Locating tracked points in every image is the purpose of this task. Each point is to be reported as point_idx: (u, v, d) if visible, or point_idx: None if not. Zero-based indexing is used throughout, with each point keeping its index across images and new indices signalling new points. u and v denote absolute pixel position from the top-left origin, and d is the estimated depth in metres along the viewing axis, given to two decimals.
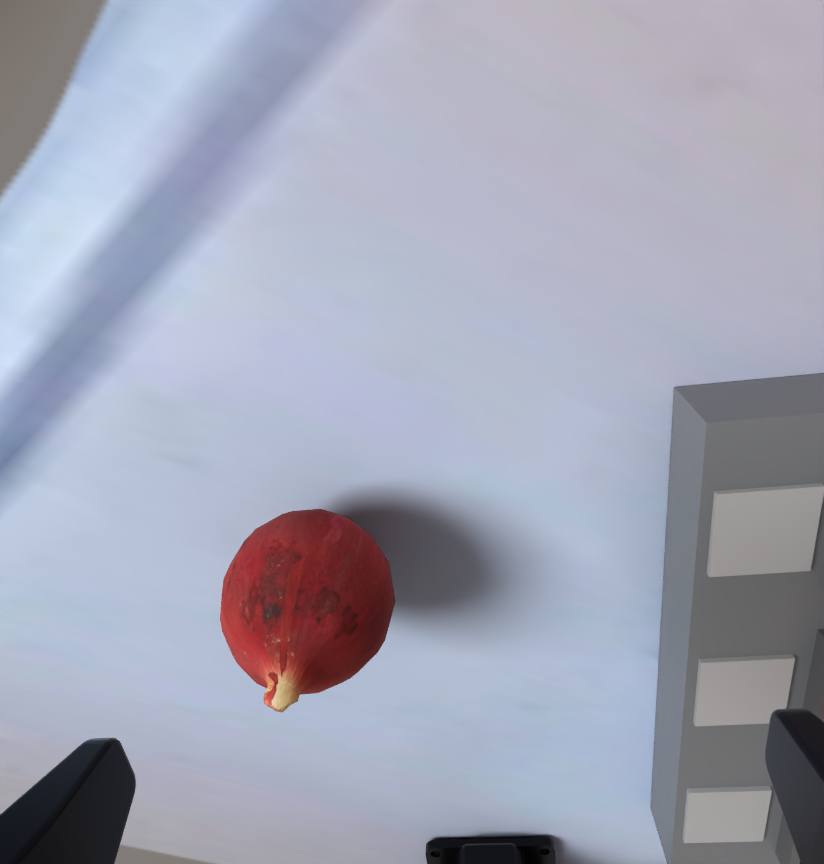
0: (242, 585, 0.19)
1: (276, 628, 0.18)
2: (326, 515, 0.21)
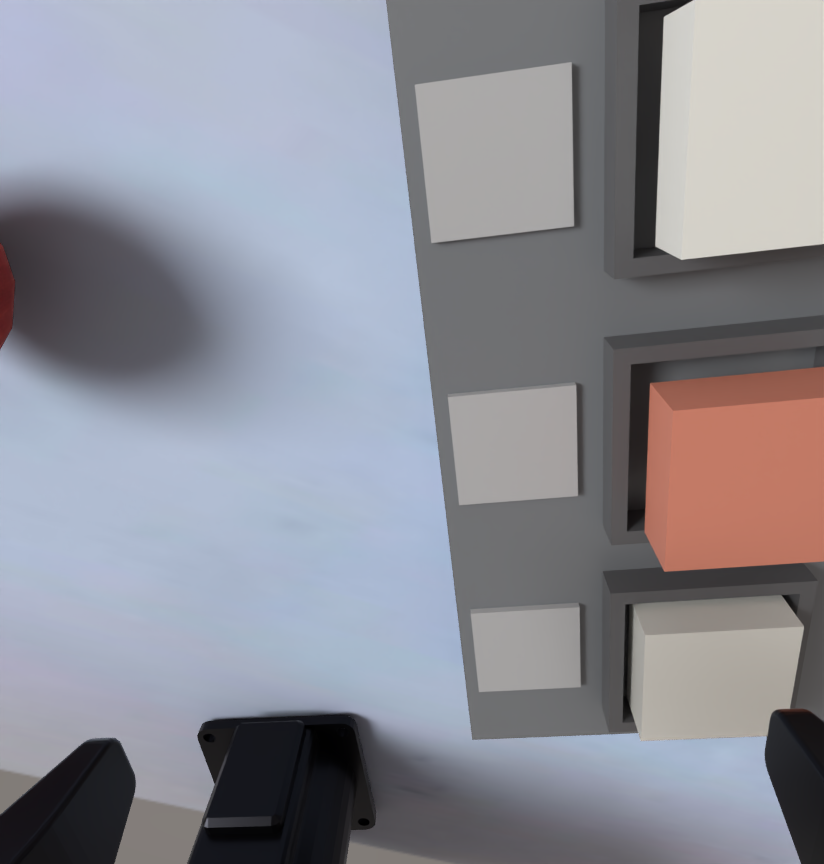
0: None
1: None
2: None
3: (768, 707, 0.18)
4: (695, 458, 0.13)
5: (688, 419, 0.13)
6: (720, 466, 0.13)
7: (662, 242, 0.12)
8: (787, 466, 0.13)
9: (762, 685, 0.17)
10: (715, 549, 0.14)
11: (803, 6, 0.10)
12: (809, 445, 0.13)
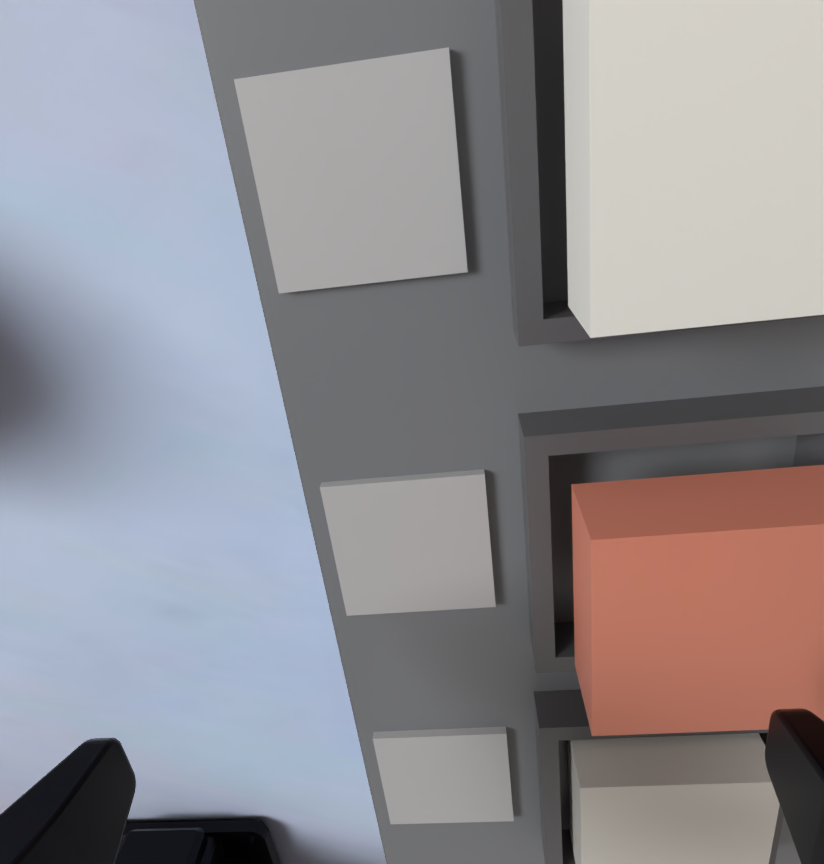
0: None
1: None
2: None
3: None
4: (624, 600, 0.09)
5: (613, 551, 0.09)
6: (660, 611, 0.09)
7: (573, 304, 0.09)
8: (753, 612, 0.09)
9: (731, 845, 0.14)
10: (659, 711, 0.10)
11: None
12: (783, 586, 0.09)
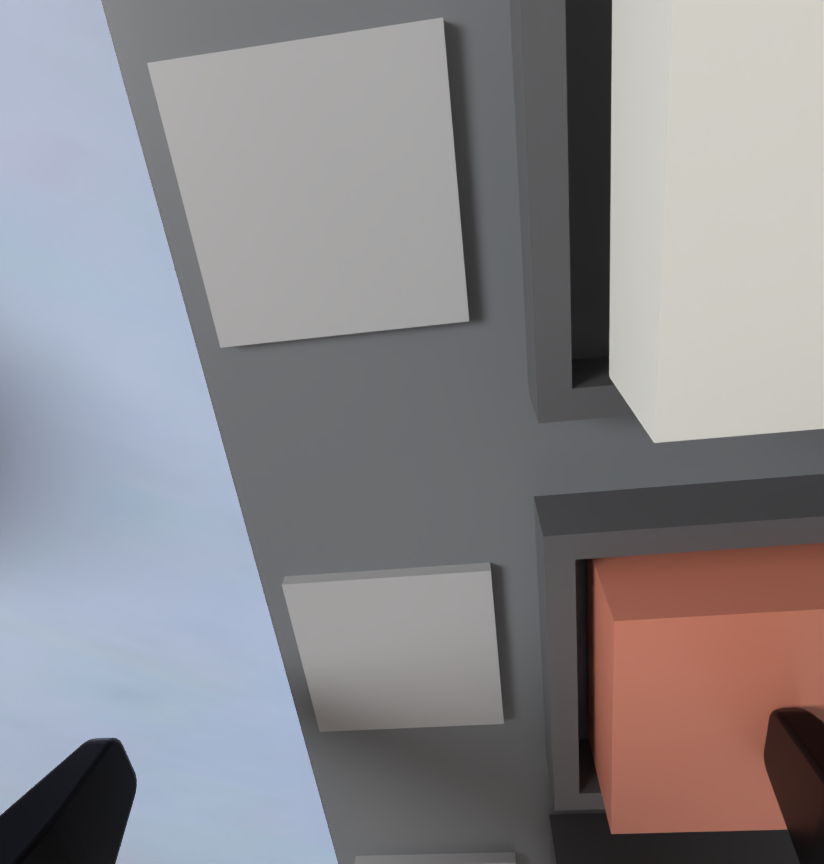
0: None
1: None
2: None
3: None
4: (652, 689, 0.08)
5: (639, 633, 0.08)
6: (694, 700, 0.08)
7: (620, 379, 0.06)
8: (805, 702, 0.08)
9: None
10: (689, 808, 0.09)
11: None
12: None
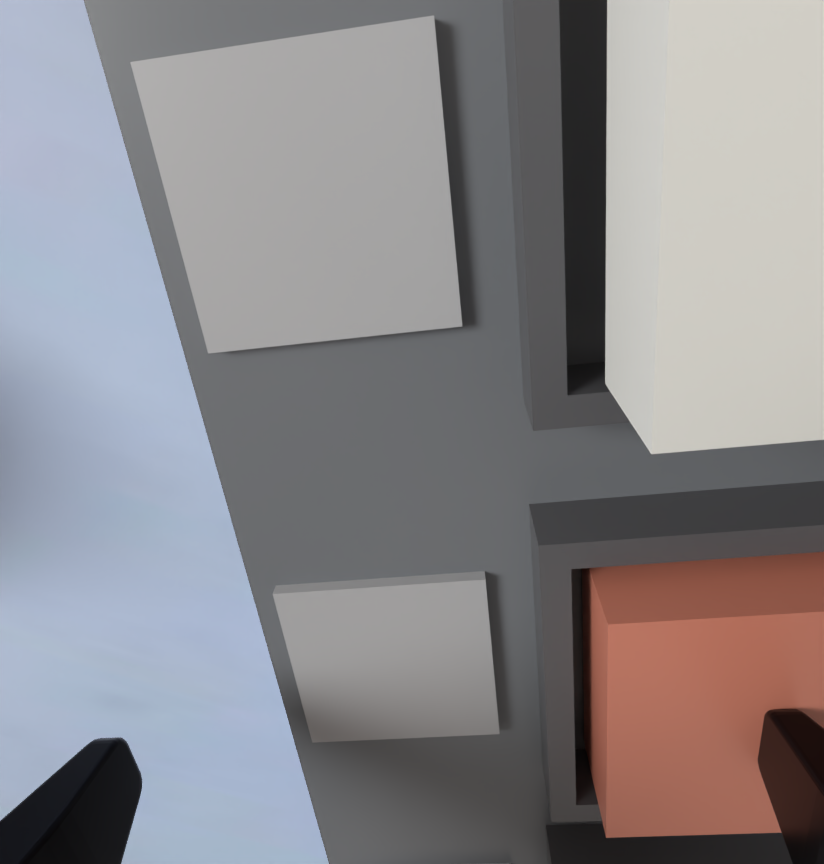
0: None
1: None
2: None
3: None
4: (647, 692, 0.08)
5: (633, 637, 0.08)
6: (689, 703, 0.08)
7: (616, 387, 0.06)
8: (799, 705, 0.08)
9: None
10: (684, 811, 0.09)
11: None
12: None
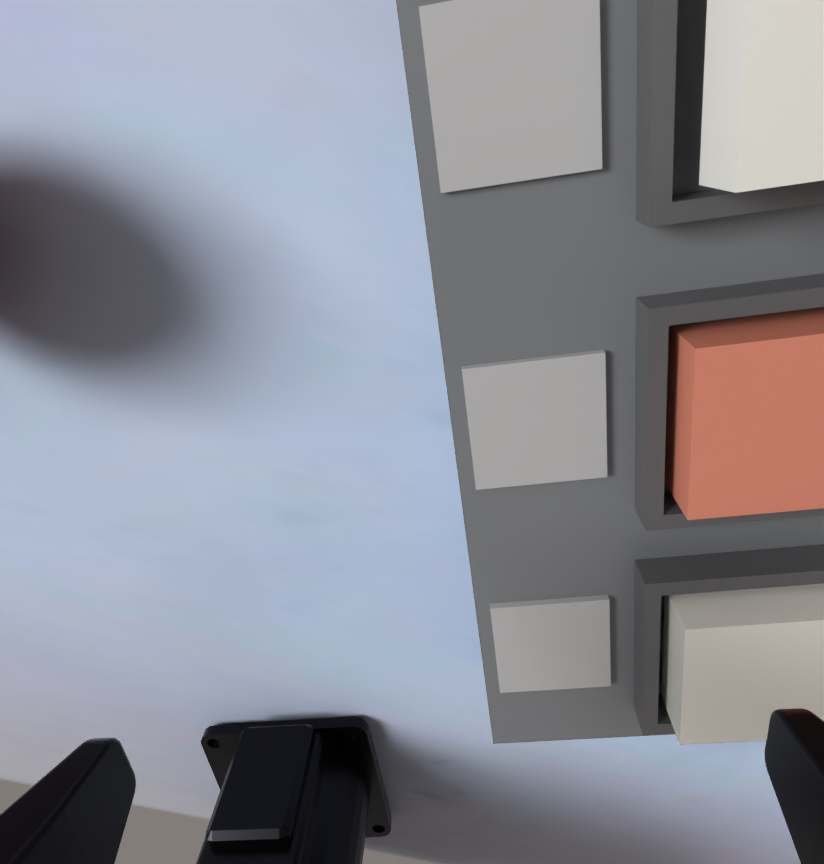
0: None
1: None
2: None
3: (821, 706, 0.16)
4: (718, 399, 0.13)
5: (711, 357, 0.12)
6: (744, 406, 0.13)
7: (709, 178, 0.11)
8: (814, 405, 0.13)
9: (814, 682, 0.16)
10: (740, 495, 0.14)
11: None
12: None
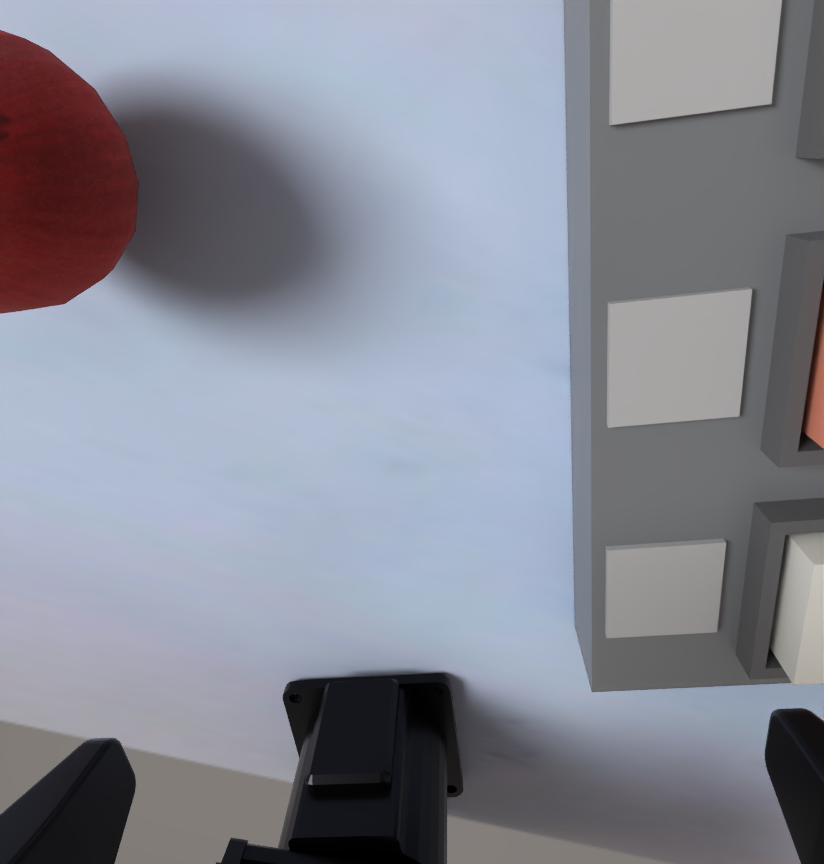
0: None
1: None
2: None
3: None
4: None
5: None
6: None
7: None
8: None
9: None
10: None
11: None
12: None
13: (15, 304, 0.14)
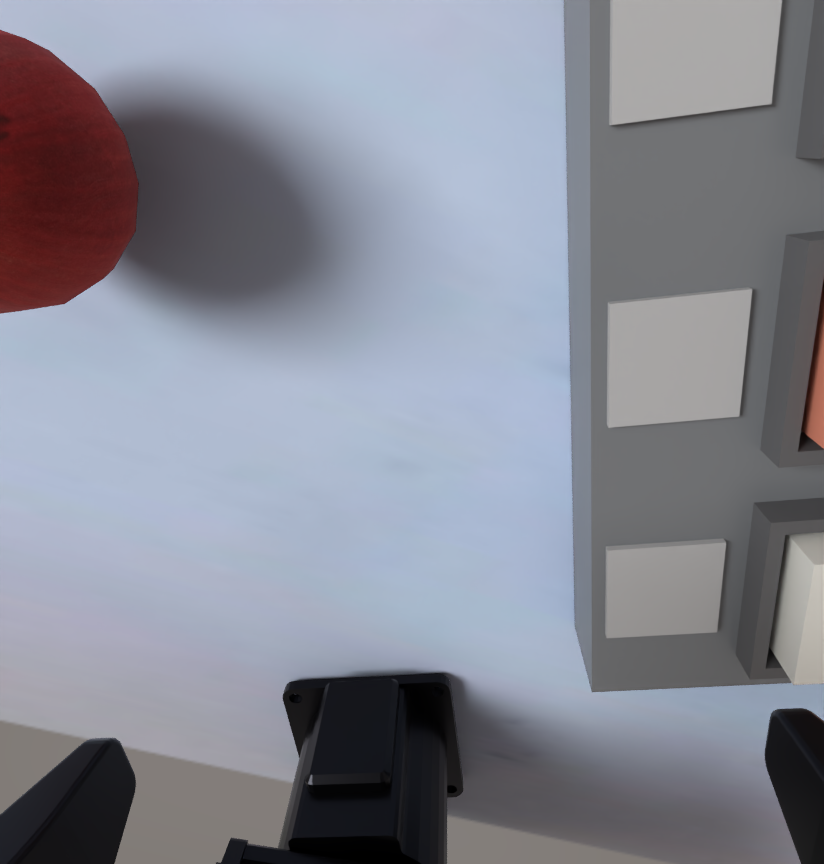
0: None
1: None
2: None
3: None
4: None
5: None
6: None
7: None
8: None
9: None
10: None
11: None
12: None
13: (15, 304, 0.14)
